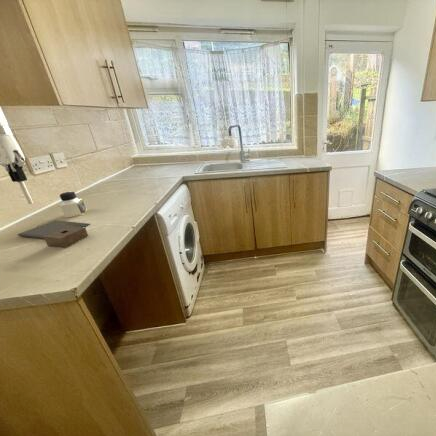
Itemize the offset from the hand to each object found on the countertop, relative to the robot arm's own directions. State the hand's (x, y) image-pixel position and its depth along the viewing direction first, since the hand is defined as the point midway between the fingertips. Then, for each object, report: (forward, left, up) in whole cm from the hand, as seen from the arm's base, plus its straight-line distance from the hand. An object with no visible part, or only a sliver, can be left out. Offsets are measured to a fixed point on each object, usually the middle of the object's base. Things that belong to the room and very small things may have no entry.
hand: (20, 180), depth 95 cm
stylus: (0, 0, -10) cm, 10 cm away
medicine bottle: (+22, +12, -25) cm, 35 cm away
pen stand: (-2, -15, -25) cm, 29 cm away
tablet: (+5, +2, -25) cm, 25 cm away
